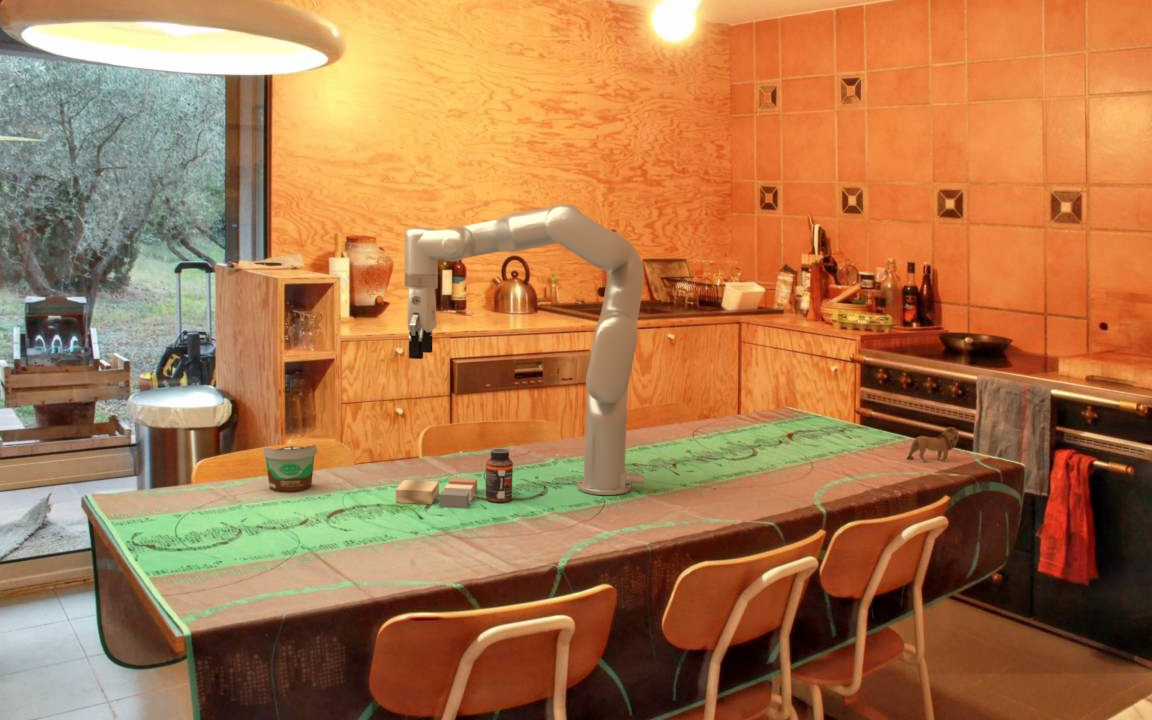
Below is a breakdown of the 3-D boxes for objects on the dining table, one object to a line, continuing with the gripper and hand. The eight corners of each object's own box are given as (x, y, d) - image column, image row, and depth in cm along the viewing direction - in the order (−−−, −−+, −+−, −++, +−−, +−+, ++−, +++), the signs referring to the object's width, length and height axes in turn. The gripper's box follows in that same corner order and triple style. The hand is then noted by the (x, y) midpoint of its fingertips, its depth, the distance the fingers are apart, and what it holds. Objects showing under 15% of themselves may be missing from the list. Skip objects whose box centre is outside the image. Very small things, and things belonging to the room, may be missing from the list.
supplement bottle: (508, 504, 234) (509, 454, 232) (482, 502, 235) (482, 452, 233) (515, 497, 239) (516, 448, 238) (489, 495, 241) (490, 446, 239)
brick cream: (473, 498, 238) (473, 485, 238) (470, 501, 235) (470, 488, 235) (446, 496, 239) (446, 484, 238) (444, 500, 236) (444, 487, 235)
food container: (268, 496, 235) (267, 452, 233) (262, 489, 240) (262, 446, 238) (323, 490, 240) (323, 447, 239) (317, 483, 246) (316, 441, 244)
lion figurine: (950, 457, 289) (952, 425, 288) (961, 462, 284) (964, 429, 282) (901, 458, 286) (903, 426, 284) (911, 463, 281) (914, 430, 279)
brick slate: (468, 505, 233) (469, 492, 233) (466, 509, 230) (466, 495, 230) (442, 503, 233) (442, 490, 233) (439, 507, 231) (439, 494, 230)
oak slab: (438, 494, 240) (438, 481, 239) (431, 504, 232) (431, 491, 232) (404, 492, 240) (404, 479, 240) (395, 502, 233) (395, 489, 232)
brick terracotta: (477, 491, 244) (477, 478, 243) (474, 495, 241) (474, 482, 240) (451, 490, 244) (451, 477, 244) (448, 493, 241) (448, 481, 241)
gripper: (429, 285, 234) (428, 361, 237) (444, 279, 251) (444, 350, 254) (395, 284, 235) (395, 360, 237) (413, 278, 252) (413, 349, 254)
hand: (420, 355), depth 246 cm, fingers open, 9 cm apart
